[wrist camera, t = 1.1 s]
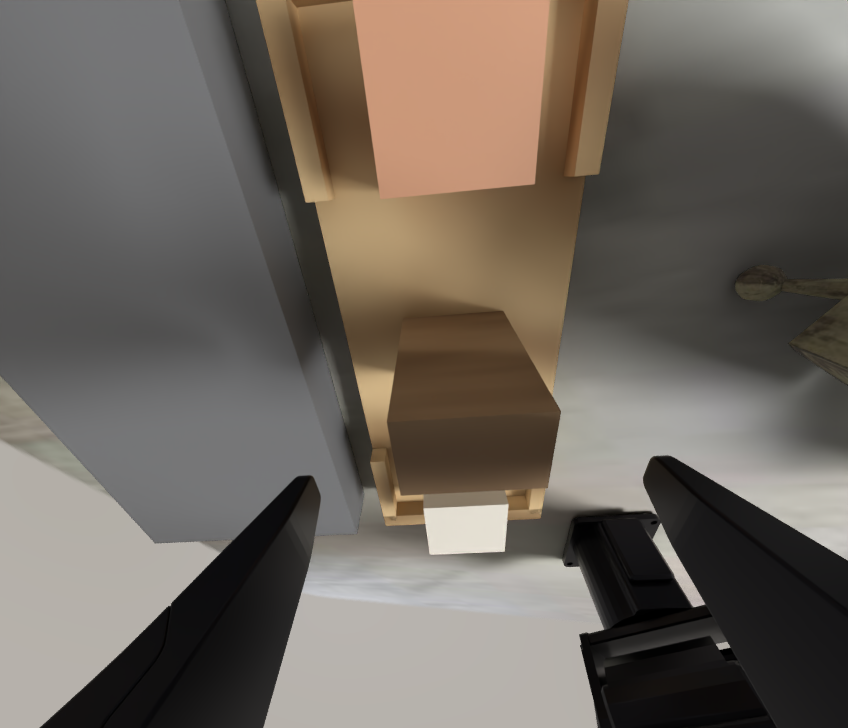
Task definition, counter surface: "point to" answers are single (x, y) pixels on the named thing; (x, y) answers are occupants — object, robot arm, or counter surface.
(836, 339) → the tabletop clock
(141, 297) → the grey flat slab
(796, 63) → the counter surface
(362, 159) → the tray
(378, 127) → the block
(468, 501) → the block
